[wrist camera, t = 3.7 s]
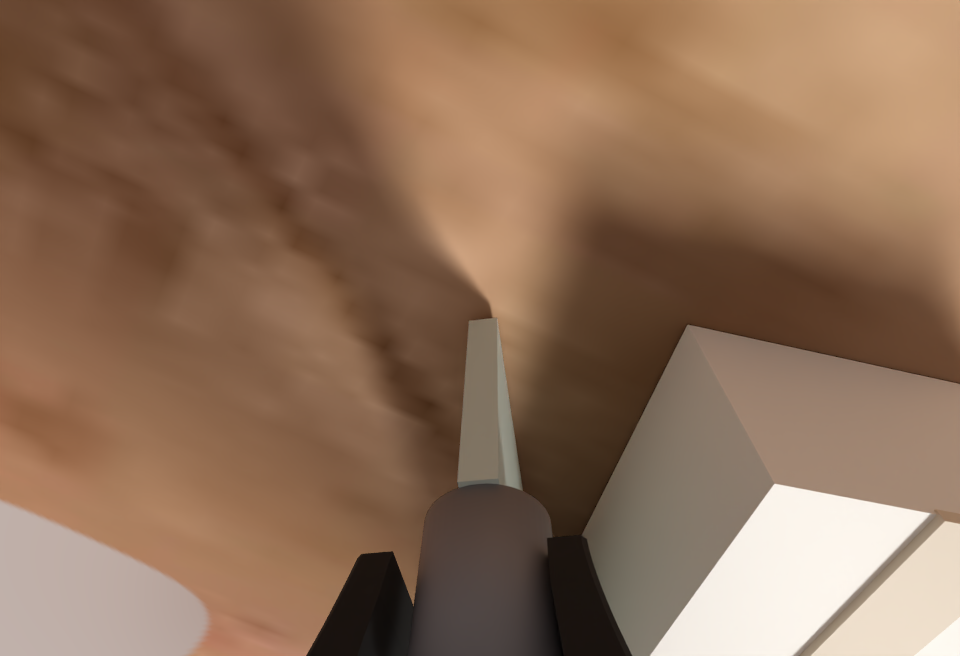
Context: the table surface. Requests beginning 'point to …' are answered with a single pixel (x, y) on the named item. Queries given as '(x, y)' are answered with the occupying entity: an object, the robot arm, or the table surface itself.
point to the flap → (485, 534)
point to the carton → (784, 508)
